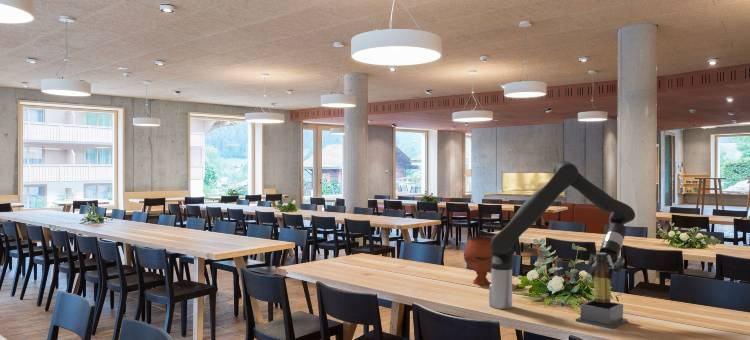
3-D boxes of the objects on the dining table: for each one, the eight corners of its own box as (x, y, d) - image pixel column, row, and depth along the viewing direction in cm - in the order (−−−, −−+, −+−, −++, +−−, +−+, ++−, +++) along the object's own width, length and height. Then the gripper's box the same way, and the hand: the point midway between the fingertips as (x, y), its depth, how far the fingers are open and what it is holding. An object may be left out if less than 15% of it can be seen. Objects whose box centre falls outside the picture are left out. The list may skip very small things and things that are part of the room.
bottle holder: (575, 321, 226) (575, 304, 226) (591, 314, 237) (591, 298, 237) (613, 328, 216) (613, 310, 216) (627, 321, 226) (627, 304, 226)
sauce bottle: (606, 299, 230) (606, 251, 229) (613, 303, 223) (613, 254, 223) (591, 299, 229) (591, 252, 229) (597, 303, 223) (597, 254, 223)
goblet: (497, 279, 311) (497, 235, 311) (501, 287, 292) (501, 239, 292) (462, 279, 313) (462, 235, 313) (464, 286, 294) (464, 239, 294)
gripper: (592, 237, 237) (580, 269, 228) (627, 241, 227) (615, 273, 218) (597, 249, 240) (585, 280, 232) (631, 252, 230) (620, 285, 222)
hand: (600, 277), depth 225 cm, fingers closed on sauce bottle, 6 cm apart
